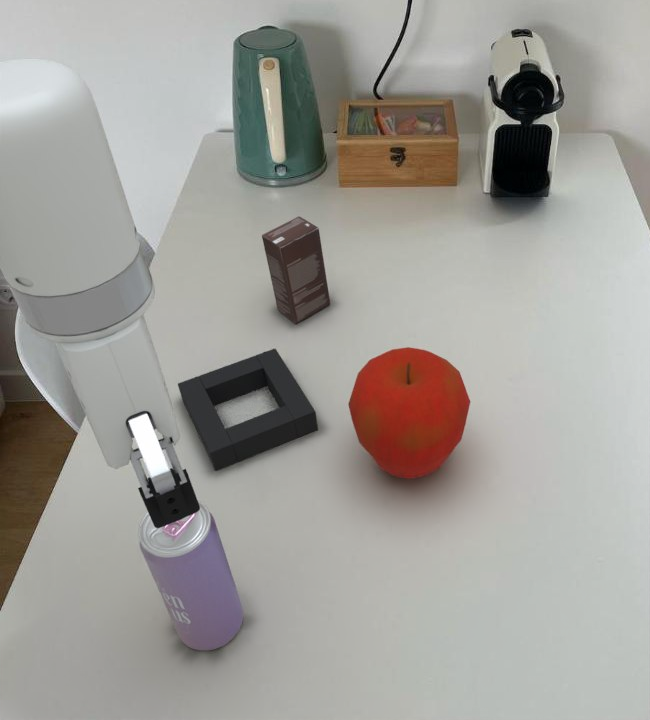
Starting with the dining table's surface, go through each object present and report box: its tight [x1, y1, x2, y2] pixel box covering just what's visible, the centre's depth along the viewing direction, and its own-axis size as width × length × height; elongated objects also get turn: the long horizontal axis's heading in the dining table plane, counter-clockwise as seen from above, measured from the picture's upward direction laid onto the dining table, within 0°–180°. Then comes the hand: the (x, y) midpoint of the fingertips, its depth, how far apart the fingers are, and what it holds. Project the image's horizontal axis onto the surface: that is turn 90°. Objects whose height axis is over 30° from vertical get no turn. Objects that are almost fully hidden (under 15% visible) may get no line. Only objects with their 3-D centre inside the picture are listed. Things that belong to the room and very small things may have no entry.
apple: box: [347, 346, 471, 480], centre depth 82 cm, size 12×12×14 cm
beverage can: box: [137, 499, 244, 651], centre depth 68 cm, size 6×6×15 cm
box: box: [261, 216, 331, 324], centre depth 103 cm, size 6×4×12 cm
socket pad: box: [177, 348, 319, 472], centre depth 92 cm, size 12×12×3 cm
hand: (158, 469), depth 59 cm, fingers open, 9 cm apart
